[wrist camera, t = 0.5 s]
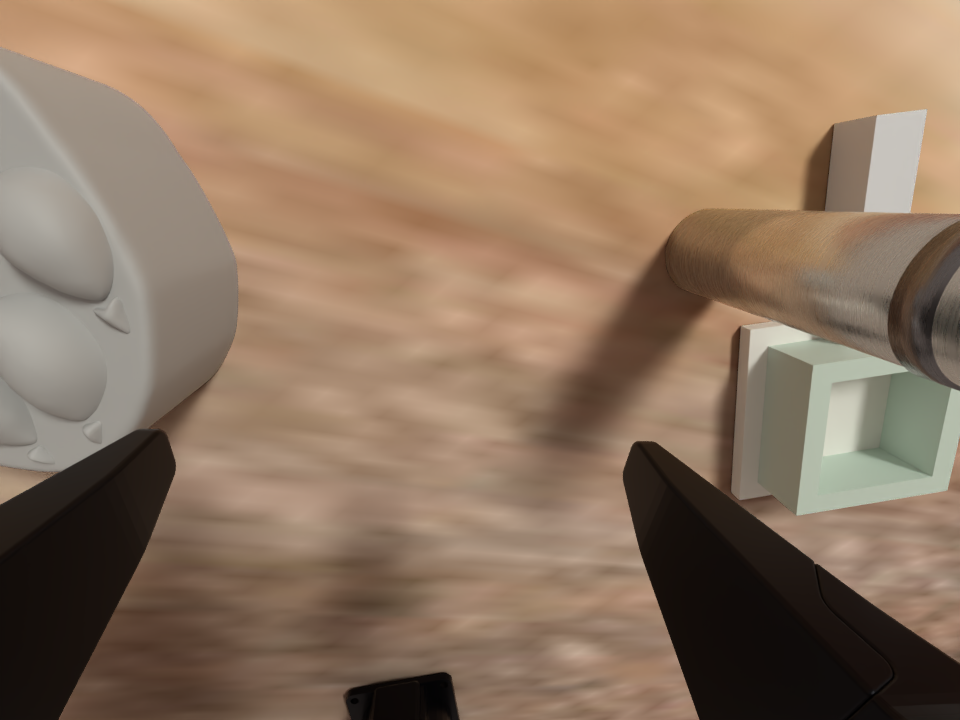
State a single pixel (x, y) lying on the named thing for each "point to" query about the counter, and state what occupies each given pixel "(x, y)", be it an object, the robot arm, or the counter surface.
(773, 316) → the shiny grey metal cylinder
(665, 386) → the counter surface
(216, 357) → the lumpy-topped squat cylinder
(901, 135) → the shaft rig
